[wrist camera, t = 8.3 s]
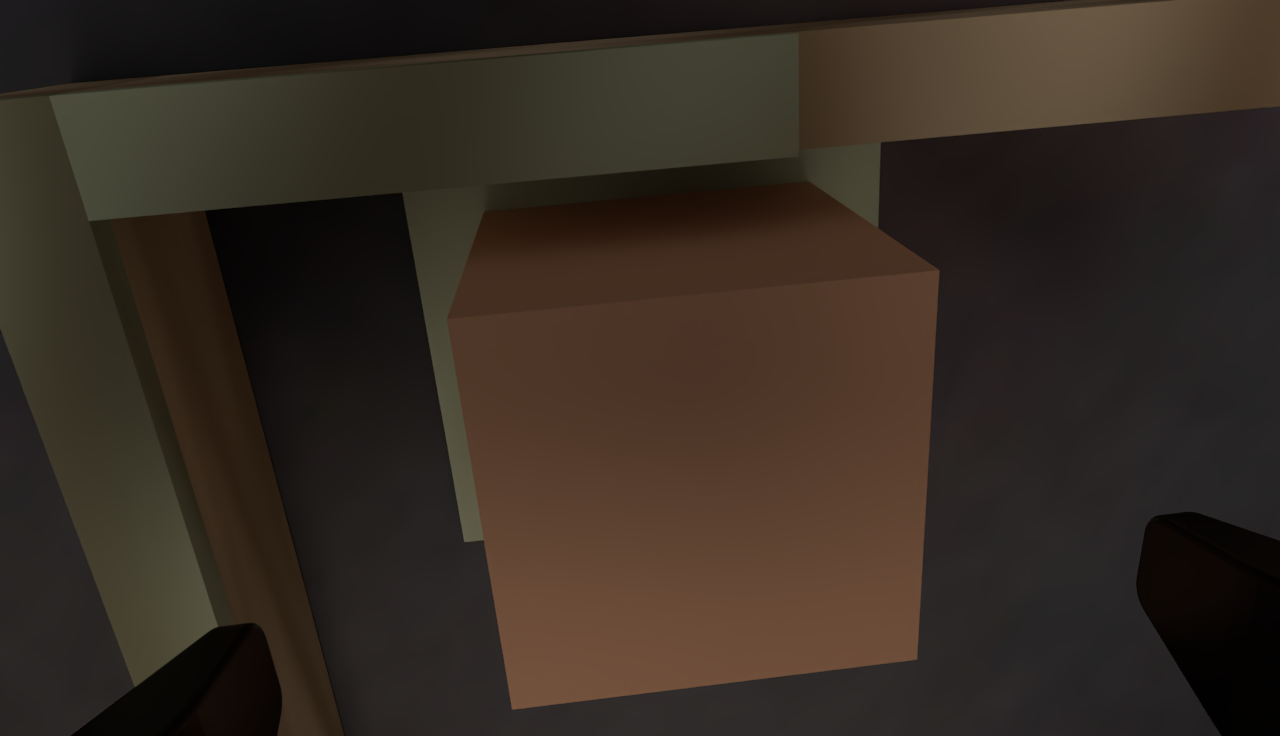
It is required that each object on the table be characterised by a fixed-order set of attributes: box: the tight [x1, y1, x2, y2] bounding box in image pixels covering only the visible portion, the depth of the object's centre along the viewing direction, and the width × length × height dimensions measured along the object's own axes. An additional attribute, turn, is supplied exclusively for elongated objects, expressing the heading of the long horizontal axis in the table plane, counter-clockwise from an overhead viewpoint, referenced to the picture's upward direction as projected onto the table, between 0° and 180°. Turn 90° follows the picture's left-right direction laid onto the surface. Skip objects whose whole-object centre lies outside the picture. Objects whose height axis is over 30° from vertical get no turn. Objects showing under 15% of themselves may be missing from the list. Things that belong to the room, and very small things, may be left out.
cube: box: [447, 181, 939, 710], centre depth 13 cm, size 6×6×6 cm
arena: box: [0, 0, 1280, 736], centre depth 16 cm, size 20×17×4 cm
